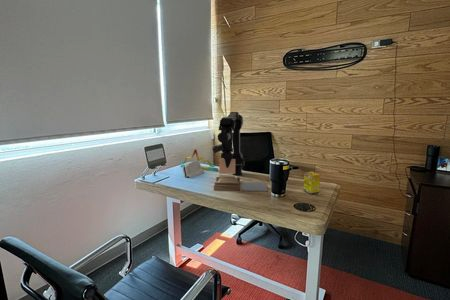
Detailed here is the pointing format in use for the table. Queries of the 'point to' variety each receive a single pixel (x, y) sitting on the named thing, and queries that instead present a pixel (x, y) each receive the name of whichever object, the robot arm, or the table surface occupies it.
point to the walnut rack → (227, 185)
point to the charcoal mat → (254, 186)
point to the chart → (203, 161)
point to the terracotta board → (227, 170)
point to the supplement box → (311, 182)
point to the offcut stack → (228, 179)
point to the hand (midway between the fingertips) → (227, 166)
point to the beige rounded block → (192, 169)
